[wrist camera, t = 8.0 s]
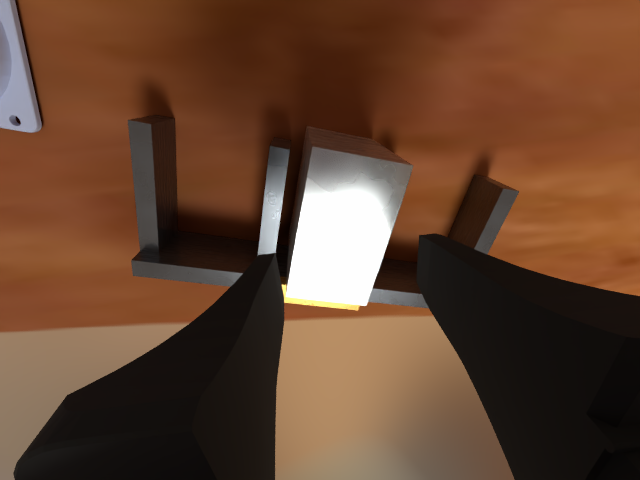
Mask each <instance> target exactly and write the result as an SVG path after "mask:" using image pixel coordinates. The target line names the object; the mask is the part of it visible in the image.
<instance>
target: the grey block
mask: <svg viewBox="0 0 640 480" xmlns="http://www.w3.org/2000/svg"><path fill="white" fill-rule="evenodd" d="M412 168H413V165H412V164H410V163H408V162H407V161H405V160H404V159H402V158H401V157H399V156H398V155H396V154H395V153H393V152H391V151H390V150H388V149H387V148H385V147H384V146H382V145H381V144H379V143H378V142H376V141H375V140H373V139H370V138H365V137H360V136H355V135H350V134H345V133H340V132H335V131H330V130H325V129H320V128H315V127H310V126H307V127H306V133H305V139H304V145H303V151H302V157H301V163H300V169H299V175H298V181H297V188H296V194H295V200H294V206H293V212H292V218H291V224H290V230H289V242H288V262H287V281H286V297H291V298H300V299H309V300H318V301H327V302H336V303H345V304H354V305H363V306H366V305H367V302H368V299H369V296H370V293H371V290H372V287H373V284H374V281H375V278H376V275H377V272H378V269H379V266H380V263H381V261H382V258H383V255H384V252H385V249H386V246H387V243H388V240H389V237H390V234H391V231H392V228H393V225H394V222H395V219H396V216H397V213H398V210H399V207H400V204H401V201H402V198H403V195H404V192H405V189H406V186H407V183H408V180H409V177H410V174H411V171H412Z"/></svg>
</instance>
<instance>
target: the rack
mask: <svg viewBox="0 0 640 480" xmlns="http://www.w3.org/2000/svg"><path fill="white" fill-rule="evenodd" d="M128 126H129V137H130V148H131V158H132V169H133V180H134V190H135V201H136V212H137V222H138V233H139V244H140V252H139V253H138V254H137V255H136V256H135V257H134V258H133V259H132V260H131V262H132V271H133V276H140V277H149V278H158V279H167V280H176V281H185V282H194V283H203V284H213V285H222V286H232V285H233V284H234V283H235V282H236V281H237V280H238V278H239V277H240V276H241V275H242V274H243V273H244V272H245V270H246V269H247V268H248V267H249V266H250V265H251V263H252V262H253V261H254V260H255V259H256V258H257V256H258V255H262V254H270V253H276V259H277V264H278V269H279V274H280V279H281V284H282V289H283V294H284V303H294V304H304V305H313V306H323V307H332V308H342V309H351V310H358V309H359V306H360V305H354V304H345V303H336V302H327V301H318V300H309V299H300V298H291V297H286V281H287V262H288V246H287V245H280V244H277V238H278V231H279V224H280V217H281V210H282V203H283V195H284V188H285V181H286V174H287V167H288V160H289V153H290V145H291V140H287V139H281V138H276V137H274V138H273V140H272V142H271V144H270V149H269V158H268V167H267V176H266V185H265V194H264V203H263V212H262V221H261V230H260V239H259V242H257V241H250V240H242V239H235V238H227V237H220V236H212V235H205V234H197V233H190V232H182V231H178V215H177V178H176V142H175V118H169V117H164V116H159V115H153V116H147V117H142V118H136V119H131V120H128ZM410 175H411V174H410ZM409 178H410V177H409ZM408 182H409V180H408ZM407 185H408V183H407ZM406 188H407V186H406ZM405 191H406V189H405ZM518 193H519V191H517V190H515V189H513V188H511V187H509V186H506V185H504V184H502V183H500V182H498V181H495V180H493V179H491V178H489V177H484V176H479V175H474V177H473V180H472V182H471V184H470V187H469V189H468V191H467V194H466V196H465V198H464V201H463V203H462V205H461V208H460V210H459V212H458V215H457V217H456V219H455V222H454V224H453V226H452V229H451V231H450V233H449V236H448V238H450V239H452V240H454V241H457V242H459V243H461V244H464V245H466V246H468V247H471V248H473V249H475V250H478V251H480V252H482V253H485V254H488V252H489V250H490V248H491V246H492V244H493V242H494V240H495V238H496V236H497V234H498V232H499V230H500V228H501V226H502V224H503V222H504V220H505V218H506V216H507V215H508V213H509V211H510V209H511V207H512V205H513V203H514V201H515V199H516V197H517V195H518ZM404 194H405V192H404ZM403 197H404V195H403ZM402 200H403V198H402ZM401 203H402V201H401ZM400 206H401V204H400ZM399 209H400V207H399ZM398 212H399V210H398ZM397 215H398V213H397ZM396 218H397V216H396ZM395 221H396V219H395ZM394 224H395V222H394ZM393 227H394V225H393ZM392 230H393V228H392ZM391 233H392V231H391ZM390 236H391V234H390ZM389 239H390V237H389ZM388 242H389V240H388ZM387 245H388V243H387ZM386 248H387V246H386ZM385 251H386V249H385ZM384 254H385V252H384ZM383 257H384V255H383ZM416 278H417V263H415V262H407V261H400V260H392V259H385V258H382V261H381V263H380V266H379V269H378V272H377V275H376V278H375V281H374V284H373V287H372V290H371V293H370V296H369V299H368V302H377V303H386V304H395V305H404V306H413V307H422V308H429V307H428V306H427V304H426V302H425V300H424V298H423V295H422V293H421V291H420V289H419V286H418V284H417V281H416Z"/></svg>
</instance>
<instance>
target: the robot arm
mask: <svg viewBox="0 0 640 480" xmlns="http://www.w3.org/2000/svg"><path fill="white" fill-rule="evenodd" d="M16 116H17V117H18V118H19V119H20V121H21V125H20V124H19V123H18V122H17V121H16ZM0 128H6V129H11V130H17V131H23V132H38V131H39V130H40V129H41V128H42V123H41V119H40V114H39V109H38V105H37V100H36V96H35V91H34V86H33V82H32V77H31V73H30V68H29V63H28V59H27V54H26V49H25V45H24V40H23V36H22V31H21V26H20V22H19V17H18V13H17V8H16V3H15V0H0ZM416 281H417V284H418V286H419V289H420V291H421V293H422V295H423V298H424V300H425V302H426V304H427V306H428V307H429V309H430V311H431V312H432V314H433V315H434V317H435V319H436V320H437V322H438V323H439V325H440V326H441V328H442V330H443V331H444V333H445V335H446V336H447V338H448V339H449V341H450V343H451V344H452V346H453V347H454V349H455V351H456V352H457V354H458V356H459V358H460V359H461V361H462V363H463V365H464V366H465V369H466V370H467V372H468V375H469V377H470V379H471V381H472V383H473V385H474V387H475V389H476V391H477V393H478V395H479V398H480V400H481V402H482V404H483V406H484V408H485V410H486V413H487V415H488V417H489V419H490V422H491V424H492V426H493V429H494V431H495V433H496V436H497V438H498V440H499V443H500V445H501V447H502V450H503V452H504V454H505V457H506V459H507V461H508V464H509V466H510V469H511V471H512V474H513V476H514V479H515V480H640V296H635V295H629V294H624V293H619V292H614V291H609V290H604V289H599V288H595V287H590V286H586V285H582V284H577V283H573V282H569V281H565V280H561V279H558V278H554V277H551V276H547V275H544V274H541V273H537V272H534V271H531V270H528V269H525V268H522V267H519V266H516V265H513V264H511V263H508V262H505V261H503V260H500V259H497V258H495V257H492V256H490V255H487V254H485V253H482V252H480V251H478V250H475V249H473V248H471V247H468V246H466V245H464V244H461V243H459V242H457V241H454V240H452V239H450V238H447V237H445V236H442V235H439V234H427V235H419V248H418V263H417V278H416ZM283 326H284V294H283V289H282V284H281V279H280V274H279V269H278V264H277V259H276V253H270V254H262V255H258V256H257V258H256V259H255V260H254V261H253V262H252V263H251V265H250V266H249V267H248V268H247V269H246V270H245V272H244V273H243V274H242V275H241V276H240V277H239V278H238V280H237V281H236V282H235V283H234V284H233V285H232V286H231V287H230V288H229V289H228V290H227V291H226V292H225V293H224V294H223V295H222V296H221V297H220V298H219V299H218V300H217V301H216V302H215V303H214V304H213V305H212V306H211V307H209V308H208V309H207V310H206V311H205V312H204V313H202V314H201V315H200V316H199V317H197V318H196V319H195V320H194V321H192V322H191V323H190V324H189V325H187V326H186V327H184V328H183V329H181V330H180V331H179V332H177V333H176V334H174V335H173V336H172V337H170V338H169V339H167V340H166V341H165V342H163V343H161V344H160V345H159V346H157V347H156V348H154V349H152V350H150V351H149V352H147V353H146V354H144V355H142V356H141V357H139V358H137V359H135V360H134V361H132V362H130V363H129V364H127V365H125V366H123V367H121V368H120V369H118V370H116V371H114V372H112V373H110V374H108V375H107V376H104V377H102V378H100V379H98V380H96V381H95V382H93V383H91V384H89V385H87V386H85V387H83V388H81V389H79V390H77V391H75V392H73V393H71V394H69V395H67V396H66V398H65V399H64V400H63V402H62V403H61V404H60V406H59V407H58V409H57V410H56V411H55V412H54V414H53V415H52V416H51V418H50V419H49V420H48V422H47V423H46V425H45V426H44V427H43V428H42V430H41V431H40V432H39V434H38V435H37V436H36V438H35V439H34V440H33V442H32V443H31V444H30V446H29V447H28V448H27V450H26V451H25V452H24V454H23V455H22V456H21V458H20V459H19V460H18V462H17V464H16V467H15V470H14V478H15V480H275V417H276V385H277V374H278V366H279V358H280V350H281V343H282V335H283Z"/></svg>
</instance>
